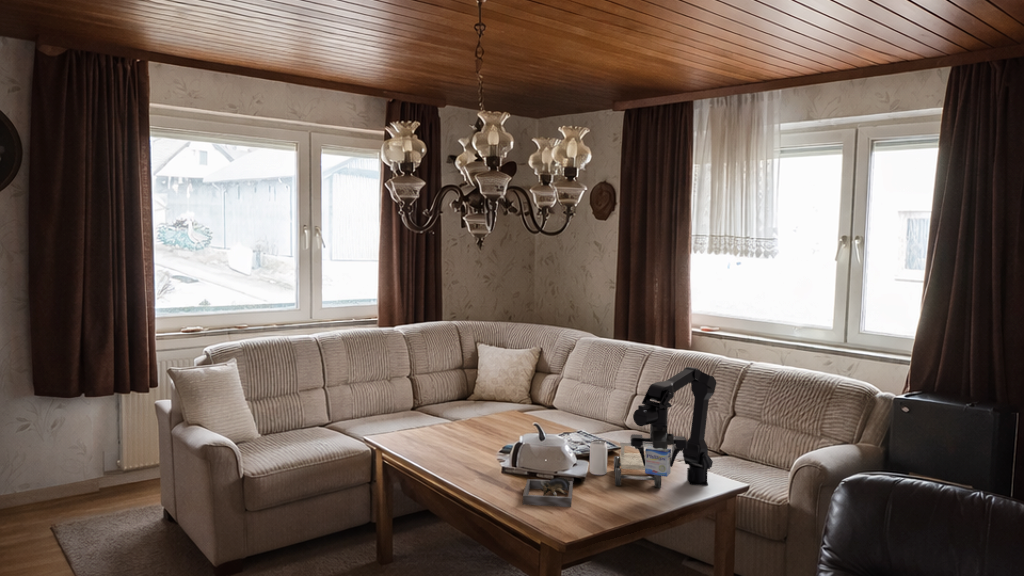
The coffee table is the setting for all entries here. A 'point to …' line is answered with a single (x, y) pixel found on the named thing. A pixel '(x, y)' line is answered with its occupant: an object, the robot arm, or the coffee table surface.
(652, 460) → the medicine box
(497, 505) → the coffee table surface
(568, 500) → the gray square tray
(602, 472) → the can
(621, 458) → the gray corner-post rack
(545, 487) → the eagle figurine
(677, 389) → the robot arm
